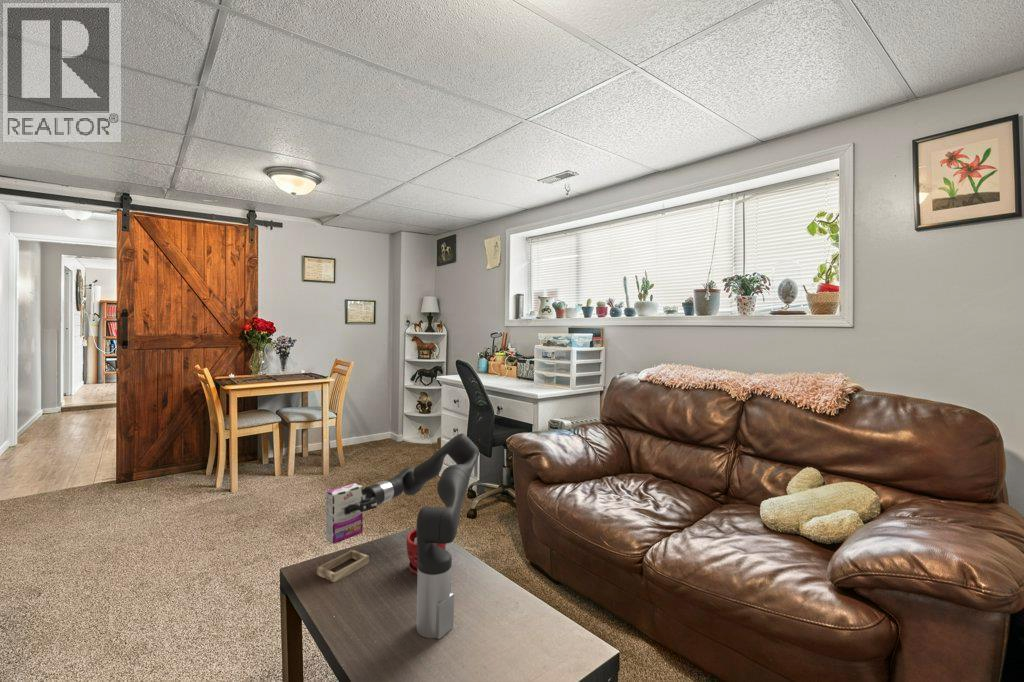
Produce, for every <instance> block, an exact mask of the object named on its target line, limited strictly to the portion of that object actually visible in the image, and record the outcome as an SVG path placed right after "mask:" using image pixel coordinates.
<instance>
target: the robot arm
mask: <svg viewBox="0 0 1024 682" xmlns="http://www.w3.org/2000/svg"><path fill="white" fill-rule="evenodd" d="M447 455H448V456H449V458H450V459H451V460H453V461H454V462H455V464H452V465H450V466H447V467H446V468H445V469H444V470H443V471H442V468H443V464H444V461H445V458H446V456H447ZM479 455H480V449H479V448H478V446H477V445H476V444H475V443H474V442H473V441H472V439H470V437H468V435H466V434H465V433H464V432H463V433H458V434H456V435H455V436H454V437H452V438H451V439H449V441H447V442H446V443H445V444H444V445H443V446H441V447H440V448H439V449H438V450H437V451H436V452H435V453H434V454H432V455H431V456H430V457H429V458H428V459H426V460H424V461H423V462H421V463H420V464H418V465H416V466H415V467H410V466H407V467H405V468H404V469H402V470H401V471H400V472H398V473H397V474H396V475H395V476H393V477H392V478H389V479H386V480H383V481H378V482H376V483H372V484H371V485H367V486H365V487H364V488H362V498H363V500H360V502H357V503H355V504H352V505H350V506H347V507H345V514H349V513H351V512H354V511H359V510H360V512H363V513H364V512H366V511H369V510H373V509H376V508H378V506H380V505H382V504H384V503H386V502H388V501H390V500H392V499H394V498H397V497H399V496H401V495H402V494H403V492H404V494H405V495H407V496H408V497H409V496H414V495H417V494H418V493H419V492H421V490H422V489H423V487H424V486H425V484H426V483H427V482H429V481H431V480H432V479H434V478H435V477H437V476H438V475H439V474H440V473H441V471H442V473H441V475H440V477H439V478H438V483H437V487H436V490H437V494H438V496H439V499H440V500H441V502H442V503H443V504H444V505H445V506H446V507H444V506H423V507H421V508H420V510H419V512H418V514H417V518H416V529H417V537H416V543H417V561H418V566H417V574H416V575H417V576H416V579H417V580H416V632H417V633H418V635H420V636H421V637H423V638H427V639H437V640H440V639H442V638H443V637H444V636H445V635H446V634H447V633H448V632H450V631H451V630H452V629H453V628H454V617H455V614H454V613H455V611H454V610H455V606H454V605H455V594H454V593H453V592H452V566H453V565H452V562H453V561H452V560H453V559H452V554H451V553H450V552H449V551H448V550H447V549H443V548H441V547H439V546H437V545H436V544H435V543H438V544H446V545H447V544H450V543H452V542H453V541H454V540H455V538H456V536H457V533H458V530H459V529H458V528H459V524H460V518H461V517H460V516H461V512H462V507H463V503H464V499H465V497H466V495H467V491H468V487H469V483H470V480H471V476H472V472H473V470H474V468H475V465H476V463H477V461H478V458H479ZM362 501H363V502H362ZM359 504H360V505H359Z"/></svg>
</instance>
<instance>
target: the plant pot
mask: <svg viewBox="0 0 1024 682" xmlns="http://www.w3.org/2000/svg"><path fill="white" fill-rule="evenodd" d="M415 539H417V528H415V529H413V530H412V531H410V532H409V533H408V534H407V536H406V551H407V557H408V560H409V563H408V568H409V570H410V571H411V572H412V573H413V574H415V575H417V566H418V561H417V542H415ZM435 544H436V545H437V546H439V547H441V548H443V549H445V550H447V547H446V546H447V544H438V543H435Z"/></svg>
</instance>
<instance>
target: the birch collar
mask: <svg viewBox="0 0 1024 682" xmlns="http://www.w3.org/2000/svg"><path fill="white" fill-rule="evenodd" d="M352 559H353V560H355V561H354V562H352V563H350V564H348V565H347V566H345V567H343V568H341V569H339V570H337V571H335V572H334V571H332V569H335V568H336V567H339V566H340V565H342V564H345V563H346V562H348V561H349V560H352ZM369 564H370V555H368V554H366V553H362V552H360V551H357V550H355V549H351V550H349V551H346V552H345V553H343V554H340V555H339V556H336V557H334V558H332V559H331V560H329V561H326V562H325V563H322V564H320V565H318V566H317V567H316V575H317V576H318V577H321V578H323V579H325V578H326V580H327V581H329V580H330V581H329V582H332V583H336V582H338V581H340V580H341V579H344V578H345V577H347V576H349V575H351V574H353V573H355V572H357V571H358V570H360V569H361V568H363V567H365V566H367V565H369Z"/></svg>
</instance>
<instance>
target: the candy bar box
mask: <svg viewBox="0 0 1024 682" xmlns="http://www.w3.org/2000/svg"><path fill="white" fill-rule="evenodd" d="M362 490H363V485H360V484H358V483H357V482H353V483H351V484H347V485H344V486H339V487H337V488H334V489H331V490H328V491H325V540H326V541H327V542H329V543H331V544H332V545H336V544H338V543H340V542H343V541H345V540H348V539H350V538H352V537H355V536H357V535H360V534H363V529H364V528H363V520H364V519H363V513H364V512H360V510H359V511H354V512H351V513H349V514H345V507H347V506H350V505H352V504H355V503H357V502H360V500H363V498H362ZM362 502H363V501H362ZM359 505H360V504H359Z"/></svg>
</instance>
